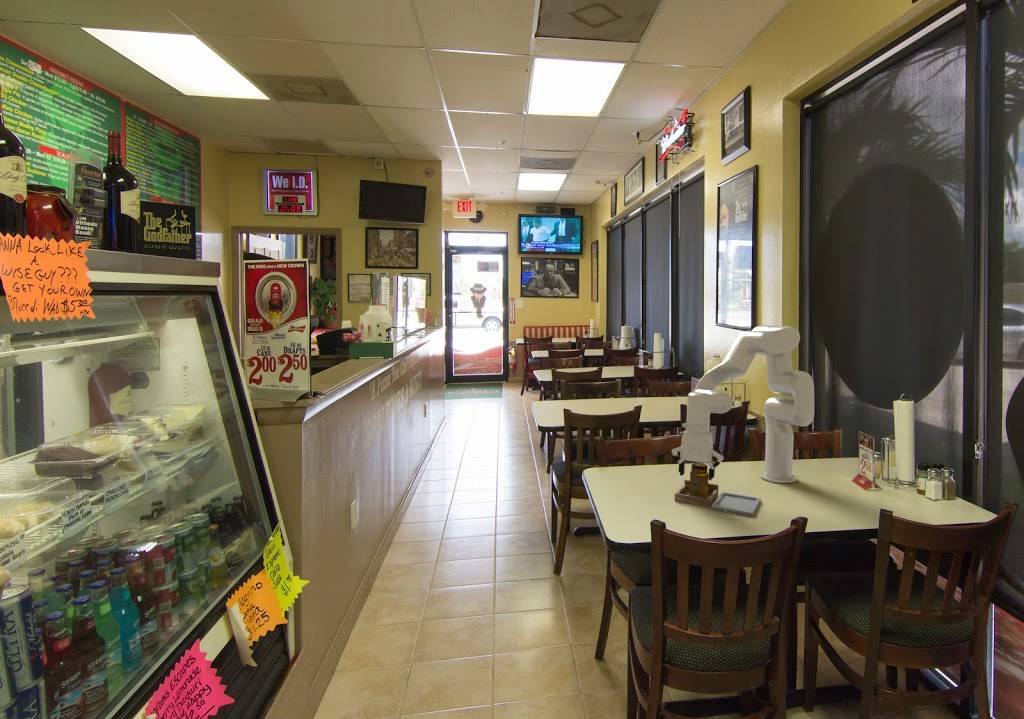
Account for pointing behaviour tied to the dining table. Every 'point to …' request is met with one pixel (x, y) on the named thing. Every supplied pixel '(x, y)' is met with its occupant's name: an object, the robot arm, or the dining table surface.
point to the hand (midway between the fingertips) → (696, 477)
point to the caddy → (697, 500)
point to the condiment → (699, 480)
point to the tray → (736, 503)
